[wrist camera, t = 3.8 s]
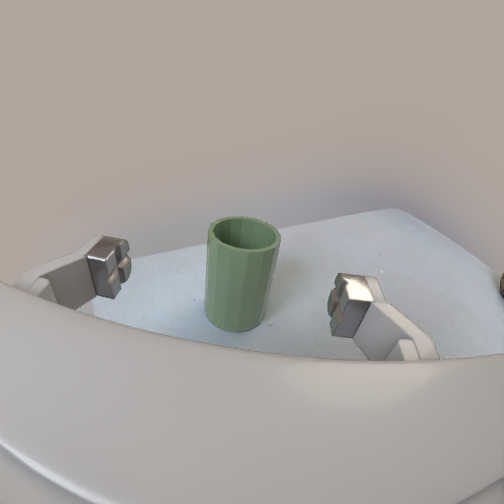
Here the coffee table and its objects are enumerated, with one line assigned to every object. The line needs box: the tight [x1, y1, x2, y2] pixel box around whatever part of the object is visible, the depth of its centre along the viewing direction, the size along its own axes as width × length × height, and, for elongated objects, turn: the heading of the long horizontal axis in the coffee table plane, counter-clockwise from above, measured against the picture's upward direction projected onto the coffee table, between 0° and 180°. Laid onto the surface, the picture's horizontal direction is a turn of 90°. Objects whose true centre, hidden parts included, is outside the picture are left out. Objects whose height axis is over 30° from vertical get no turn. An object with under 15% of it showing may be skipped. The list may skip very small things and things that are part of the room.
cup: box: [205, 217, 281, 332], centre depth 25 cm, size 6×6×9 cm
